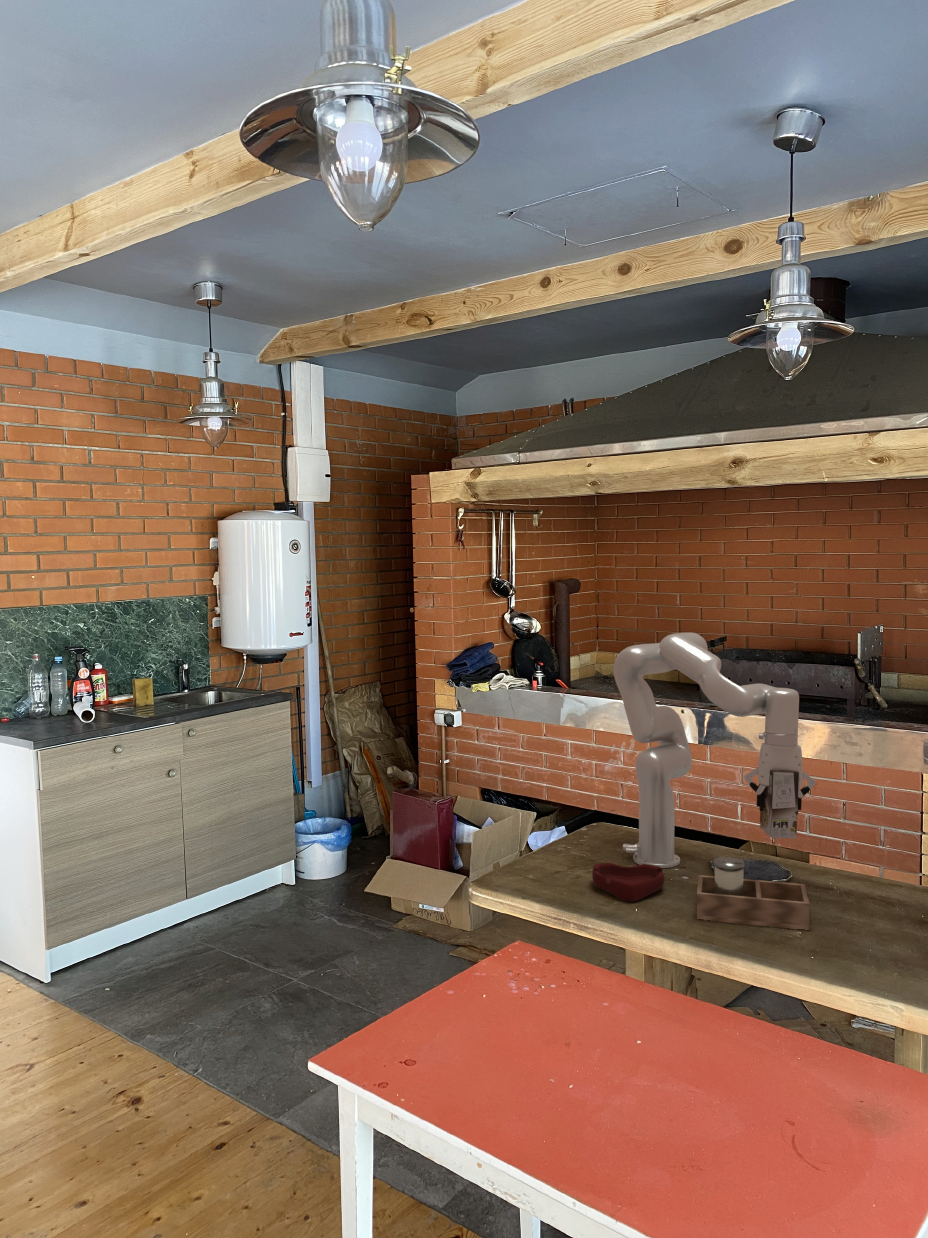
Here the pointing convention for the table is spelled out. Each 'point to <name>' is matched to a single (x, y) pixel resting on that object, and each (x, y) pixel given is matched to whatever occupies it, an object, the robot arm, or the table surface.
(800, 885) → the caddy
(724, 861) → the tea tin
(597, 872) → the ashtray
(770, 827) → the coffee box
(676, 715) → the robot arm
